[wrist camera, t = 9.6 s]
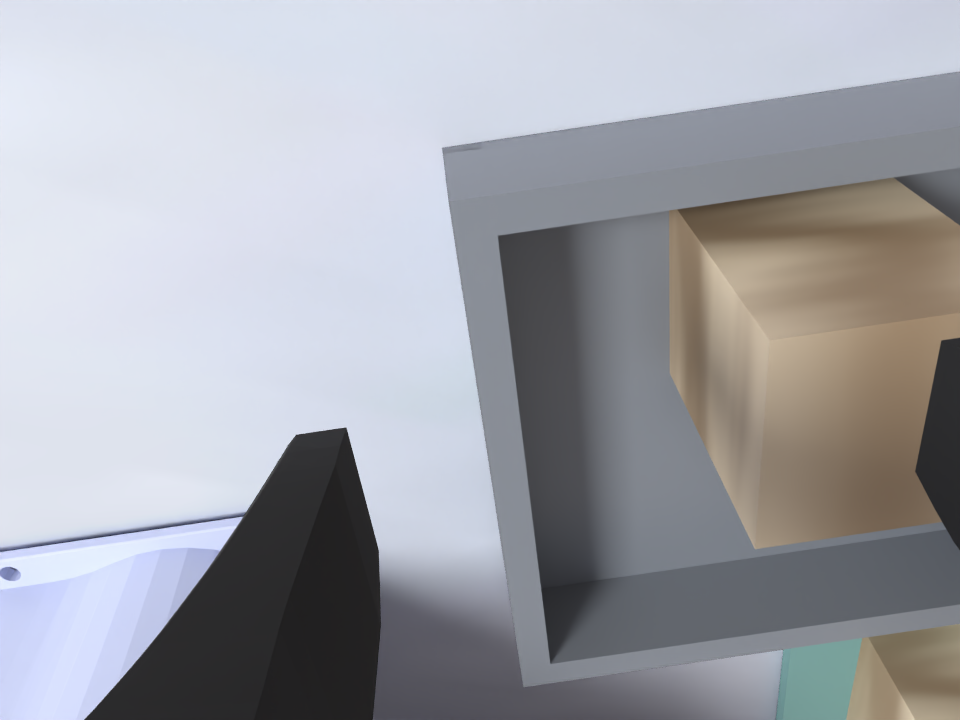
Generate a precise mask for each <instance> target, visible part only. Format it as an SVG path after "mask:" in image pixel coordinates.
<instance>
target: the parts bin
mask: <svg viewBox="0 0 960 720" xmlns="http://www.w3.org/2000/svg"><path fill="white" fill-rule="evenodd" d="M442 150H443V158H444V166H445V175H446V183H447V191H448V200H449V207H450V213H451V220H452V226H453V233H454V239H455V246H456V252H457V259H458V265H459V272H460V278H461V285H462V291H463V298H464V304H465V311H466V317H467V324H468V330H469V337H470V343H471V350H472V357H473V363H474V370H475V376H476V383H477V389H478V396H479V402H480V409H481V415H482V422H483V428H484V435H485V441H486V448H487V454H488V461H489V467H490V474H491V480H492V487H493V493H494V500H495V506H496V513H497V519H498V526H499V532H500V539H501V545H502V552H503V558H504V565H505V571H506V578H507V585H508V591H509V598H510V604H511V611H512V617H513V624H514V630H515V637H516V643H517V650H518V656H519V663H520V669H521V676H522V682H523V687H530V686H537V685H544V684H550V683H557V682H564V681H571V680H578V679H585V678H592V677H599V676H605V675H612V674H619V673H626V672H633V671H640V670H647V669H653V668H660V667H667V666H674V665H681V664H688V663H695V662H701V661H708V660H715V659H722V658H729V657H736V656H743V655H750V654H756V653H763V652H770V651H777V650H784V649H791V648H798V647H804V646H811V645H818V644H825V643H832V642H839V641H846V640H852V639H859V638H866V637H873V636H880V635H887V634H894V633H901V632H907V631H914V630H921V629H928V628H935V627H942V626H949V625H955V624H960V550H959V549H958V547H957V546H956V544H955V543H954V542H953V540H952V538H951V536H950V535H949V533H948V531H947V529H946V528H945V526H944V524H943V523H942V522H938V523H931V524H925V525H918V526H911V527H904V528H897V529H890V530H884V531H877V532H870V533H863V534H856V535H849V536H842V537H836V538H829V539H822V540H815V541H808V542H801V543H794V544H788V545H781V546H774V547H767V548H760V549H755V548H754V546H753V544H752V542H751V540H750V538H749V536H748V534H747V532H746V530H745V528H744V526H743V524H742V522H741V519H740V517H739V515H738V513H737V511H736V509H735V507H734V505H733V503H732V501H731V499H730V497H729V495H728V493H727V491H726V489H725V486H724V484H723V482H722V480H721V478H720V476H719V474H718V472H717V470H716V468H715V466H714V464H713V462H712V460H711V458H710V455H709V453H708V451H707V449H706V447H705V445H704V443H703V441H702V439H701V437H700V435H699V433H698V431H697V429H696V427H695V424H694V422H693V420H692V418H691V416H690V414H689V412H688V410H687V408H686V406H685V404H684V402H683V400H682V398H681V396H680V394H679V391H678V389H677V387H676V385H675V383H674V381H673V379H672V377H671V375H670V309H669V210H676V209H683V208H690V207H696V206H703V205H710V204H717V203H724V202H730V201H737V200H744V199H751V198H758V197H764V196H771V195H778V194H785V193H792V192H798V191H805V190H812V189H819V188H826V187H832V186H839V185H846V184H853V183H860V182H866V181H873V180H880V179H887V178H895V179H896V180H897V181H899V182H900V183H902V184H903V185H904V186H906V187H907V188H909V189H910V190H911V191H913V192H914V193H915V194H917V195H918V196H920V197H921V198H922V199H924V200H925V201H927V202H928V203H929V204H931V205H932V206H933V207H935V208H936V209H938V210H939V211H940V212H942V213H943V214H944V215H946V216H947V217H949V218H950V219H951V220H953V221H954V222H956V223H957V224H958V225H960V72H955V73H948V74H941V75H934V76H928V77H921V78H914V79H907V80H900V81H894V82H887V83H880V84H873V85H866V86H860V87H853V88H846V89H839V90H833V91H826V92H819V93H812V94H805V95H799V96H792V97H785V98H778V99H771V100H765V101H758V102H751V103H744V104H737V105H731V106H724V107H717V108H710V109H704V110H697V111H690V112H683V113H676V114H670V115H663V116H656V117H649V118H642V119H636V120H629V121H622V122H615V123H608V124H602V125H595V126H588V127H581V128H575V129H568V130H561V131H554V132H547V133H541V134H534V135H527V136H520V137H513V138H507V139H500V140H493V141H486V142H479V143H473V144H466V145H459V146H452V147H445V148H442Z"/></svg>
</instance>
